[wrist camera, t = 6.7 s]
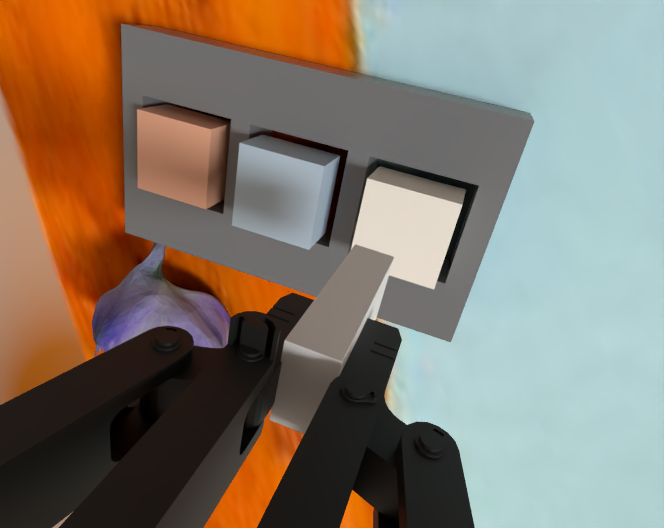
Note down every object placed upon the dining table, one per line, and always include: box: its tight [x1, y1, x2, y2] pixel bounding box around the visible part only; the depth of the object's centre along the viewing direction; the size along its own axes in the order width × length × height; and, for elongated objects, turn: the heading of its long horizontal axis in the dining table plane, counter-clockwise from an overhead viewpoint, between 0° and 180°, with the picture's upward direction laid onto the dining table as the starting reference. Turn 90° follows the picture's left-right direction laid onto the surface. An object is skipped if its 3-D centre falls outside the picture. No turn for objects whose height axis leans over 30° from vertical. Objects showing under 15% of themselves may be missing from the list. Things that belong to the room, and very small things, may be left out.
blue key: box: [232, 135, 340, 250], centre depth 24 cm, size 4×4×3 cm
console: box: [121, 24, 534, 342], centre depth 26 cm, size 12×21×3 cm, turn 79°
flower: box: [92, 243, 230, 356], centre depth 31 cm, size 9×9×10 cm
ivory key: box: [351, 166, 466, 289], centre depth 23 cm, size 4×4×3 cm
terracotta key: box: [137, 104, 231, 209], centre depth 26 cm, size 4×4×3 cm
